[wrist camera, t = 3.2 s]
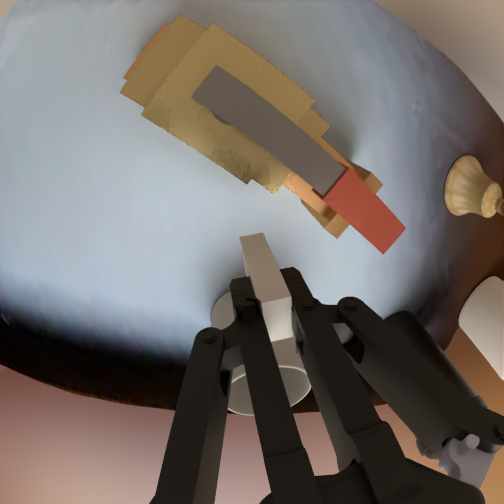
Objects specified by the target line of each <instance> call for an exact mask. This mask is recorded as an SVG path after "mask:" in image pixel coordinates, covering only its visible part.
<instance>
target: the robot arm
mask: <svg viewBox="0 0 504 504" xmlns="http://www.w3.org/2000/svg"><path fill="white" fill-rule="evenodd" d="M240 242H241V248H242V254H243V261H244V267H245V273H246V277H243V278H237V279H232V281H231V283H230V292H231V297H232V303H233V312H234V317H235V318H234V321H233V322H232V324H231V325H229V326H228V327H226V328H224V329H222V330H220V329H218V328H215V327H209V328H205V329H203V330H201V331H200V332H198V333H197V335H196V337H195V340H194V344H193V348H192V351H191V355H190V358H189V362H188V366H187V369H186V373H185V377H184V381H183V384H182V388H181V392H180V396H179V400H178V403H177V407H176V411H175V415H174V419H173V423H172V427H171V431H170V435H169V439H168V443H167V447H166V451H165V455H164V460H163V464H162V468H161V473H160V477H159V481H158V485H157V490H156V494H155V496H154V497H153V499H152V500H151V502H150V503H149V504H214V502H215V495H216V488H217V480H218V474H219V473H218V472H219V467H220V459H221V452H222V445H223V438H224V430H225V424H226V417H227V410H228V403H229V396H230V389H231V382H232V375H233V369H234V368H236V367H238V366H240V365H243V364H244V368H245V373H246V378H247V382H248V387H249V392H250V397H251V402H252V407H253V411H254V416H255V421H256V425H257V430H258V434H259V438H260V443H261V447H262V452H263V457H264V463H265V467H266V471H267V476H268V480H269V484H270V489H271V493H270V494H269V495H267V496H266V497H265V498H264V499H263V500H262V501H261V502H260V503H259V504H485V499H484V496H483V494H482V493H481V491H480V490H479V489H480V487H481V485H482V483H483V480H484V479H485V476H486V474H487V472H488V470H489V467H490V465H491V462H492V460H493V458H494V455H495V453H496V452H497V450H499V449H500V448H501V447H503V446H504V416H502V415H500V414H498V413H496V412H493V411H491V410H489V409H487V408H484V407H482V406H480V405H478V404H476V403H474V402H472V401H471V400H470V399H469V398H468V397H467V396H466V395H464V394H463V393H462V392H461V391H460V390H459V389H458V388H457V387H456V386H455V385H454V384H453V383H452V382H451V381H450V380H449V379H448V378H447V377H446V376H445V375H443V374H442V373H441V372H440V371H439V370H438V369H437V368H436V367H435V366H434V365H433V364H432V363H431V362H430V361H428V360H427V359H426V358H425V357H424V356H423V355H422V354H421V353H420V352H419V351H418V350H416V349H415V348H414V347H413V346H412V345H411V344H410V343H409V342H408V341H407V340H405V339H404V338H403V337H402V336H401V335H400V334H399V333H398V332H397V331H395V330H394V329H393V328H392V327H391V326H390V325H389V324H388V323H386V322H385V321H384V320H383V319H382V318H381V317H380V316H379V315H377V314H376V313H375V312H374V311H373V310H372V309H371V308H369V307H368V306H367V305H366V304H365V303H364V302H363V301H361V300H360V299H358V298H356V297H345V298H342V299H341V300H339V302H338V304H337V305H325V304H321V303H320V301H319V300H317V299H315V298H313V296H312V294H311V292H310V290H309V288H308V286H307V285H306V283H305V281H304V279H303V278H302V275H301V273H300V271H298V270H297V269H296V268H294V267H290V268H285V269H280V270H279V268H278V265H277V263H276V261H275V259H274V256H273V254H272V252H271V250H270V247H269V245H268V243H267V241H266V239H265V236H264V234H263V233H259V234H254V235H249V236H243V237H240ZM293 332H294V335H295V343H296V354H298V352H299V354H300V357H301V360H302V363H303V365H304V368H305V371H306V373H307V376H308V379H309V381H310V384H311V387H312V390H313V392H314V395H315V398H316V401H317V403H318V406H319V409H320V411H321V414H322V417H323V419H324V422H325V425H326V428H327V431H328V433H329V436H330V439H331V442H332V444H333V447H334V450H335V453H336V456H337V464H338V468H339V473H337V474H334V475H325V476H314V473H313V470H312V467H311V464H310V460H309V458H308V454H307V452H306V450H305V448H304V447H303V445H302V442H301V439H300V435H299V432H298V429H297V426H296V422H295V419H294V416H293V413H292V409H291V406H290V403H289V400H288V396H287V393H286V390H285V386H284V383H283V380H282V377H281V373H280V370H279V367H278V363H277V360H276V357H275V354H274V350H273V347H272V344H271V342H272V341H277V340H281V339H286V338H290V337H293ZM354 367H355V368H356V369H355V368H354ZM356 370H357V371H358V372H359V373H360V374H361V375H362V376H363V377H364V378H365V380H366V381H367V382H368V383H369V384H370V385H371V386H372V387H373V389H374V390H375V391H376V392H377V393H378V394H379V395H380V396H381V397H382V399H383V400H384V401H385V402H386V403H387V404H388V405H389V406H390V407H391V409H392V410H393V411H394V412H395V413H396V414H397V415H398V416H399V418H400V419H401V420H402V421H403V422H404V423H405V424H406V425H407V426H408V427H409V429H410V430H411V431H412V432H413V433H414V434H415V435H416V436H417V438H418V439H419V440H420V441H421V442H422V443H423V444H424V445H425V446H426V447H427V448H428V449H430V450H431V451H432V452H434V453H435V454H437V455H439V467H440V469H442V470H445V471H446V472H447V473H448V475H449V476H447V475H445V474H442V473H440V472H438V471H435V470H433V469H431V468H428V467H426V466H424V465H422V464H419V463H417V462H415V461H413V460H411V459H408V458H406V457H405V456H404V454H403V451H402V449H401V447H400V445H399V443H398V441H397V439H396V437H395V435H394V432H393V430H392V429H391V427H390V425H389V424H388V423H387V422H386V421H382V420H381V419H380V418H379V416H378V414H377V412H376V410H375V408H374V406H373V404H372V402H371V400H370V398H369V396H368V393H367V391H366V389H365V387H364V385H363V383H362V381H361V379H360V377H359V375H358V373H357V371H356Z"/></svg>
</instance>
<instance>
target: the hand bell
mask: <svg viewBox="0 0 504 504" xmlns="http://www.w3.org/2000/svg"><path fill="white" fill-rule="evenodd" d="M501 195H502V193H501V189H500V186H499V185H498V184H497V183H496V182H494V181H493V180H491V179H490V178H489V177H487V176H486V175H485V174H484V172H483V170H482V167H481V165H480V163H479V162H478V160H477V159H476V158H475V157H473V156H471V155H465V156H462V157H460V158H459V159H458V160H457V161H456V162H455V163H454V164H453V166H452V168H451V169H450V171H449V173H448V176H447V179H446V183H445V191H444V198H445V203H446V206H447V208H448V210H449V211H450V212H451V213H452V214H454V215H464V214H467V213H468V212H473V213H477V214H480V215H482V216H484V217H487V218H488V217H491V216H493V215H494V214H495V213H496V211H497V212H499V213H500V214H501V215H503V216H504V200H503V199H502V198H501Z"/></svg>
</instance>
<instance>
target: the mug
mask: <svg viewBox="0 0 504 504" xmlns="http://www.w3.org/2000/svg"><path fill="white" fill-rule="evenodd" d="M234 318H235V317H234V312H233V303H232V297H231V292H230V291H229V292H227V293H225V294H224V295H223V296H221V297H220V298H219V299H218V300H217V302H216V303H215V305H214V307H213V309H212V313H211V327H215V328H218V329H220V330H222V329H224V328H226V327H228V326H229V325H231V324H232V322H233V321H234ZM271 344H272V347H273V350H274V354H275V357H276V360H277V363H278V367H279V370H280V373H281V377H282V380H283V383H284V386H285V390H286V393H287V396H288V400H289V403H290V406H293V405H294V404H296V403H298V402H299V401H300V400H302V399H303V398H304V397H305V396H306V395H307V393H308V392H309V391H310V389H311V384H310V381H309V379H308V376H307V373H306V371H305V368H304V365H303V363H302V360H301V357H300V354H299V352H298V354H296V343H295V335H294V332H293V337H290V338H286V339H281V340H277V341H272V342H271ZM228 409H229V410H230V411H232V412H235V413H238V414H243V415H254V411H253V407H252V402H251V397H250V392H249V387H248V382H247V378H246V373H245V368H244V364H243V365H240V366H238V367H236V368H234V369H233V375H232V382H231V389H230V396H229V403H228Z"/></svg>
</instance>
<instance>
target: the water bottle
mask: <svg viewBox="0 0 504 504" xmlns="http://www.w3.org/2000/svg"><path fill="white" fill-rule="evenodd" d="M384 321H385V322H386V323H388V324H389V325H390V326H391V327H392V328H393V329H394V330H395V331H397V332H398V333H399V334H400V335H401V336H402V337H403V338H404V339H405V340H407V341H408V342H409V343H410V344H411V345H412V346H413V347H414V348H415V349H416V350H418V351H419V352H420V353H421V354H422V355H423V356H424V357H425V358H426V359H427V360H428V361H430V362H431V363H432V364H433V365H434V366H435V367H436V368H437V369H438V370H439V371H440V372H441V373H442V374H443V375H445V376H446V377H447V378H448V379H449V380H450V381H451V382H452V383H453V384H454V385H455V386H456V387H457V388H458V389H459V390H460V391H461V392H462V393H463V394H464V395H466V396H467V397H468V398H469V399H470V400H471V401H472V402H474V403H476V404H478V405H480V406H482V407H484V408H487V405H486V403H485V402H484V400H483V399H482V398H481V397H480V396H479V395H476V394H475V392H474V391H473V389H472V388H471V387H470V386H469V384H468V383H467V381H466V380H465V379H464V377H463V376H462V375H461V373H460V372H459V371H458V369H457V368H456V367H455V366H454V364H453V363H452V362H451V360H450V359H449V358H448V357H447V355H446V354H445V353H444V351H443V350H442V349H441V348H440V346H439V345H438V344H437V343H436V342H435V340H434V339H433V338H432V337H431V335H430V334H429V333H428V332H427V331H426V329H425V328H424V327H423V326H422V325H421V324H420V322H419V321H418V320H417V319H416V318H415V317H414V315H413V314H412V313H411V312H408V311H401V312H397V313H395V314H393V315H391V316H389V317H387V318H386V319H385V320H384ZM414 435H415V434H414ZM415 437H416V439H417V440H416V444H417V448H418V450H419V452H420V454H421V455H422V456H423V455H425V456H426V457H427V458H430V459H439V455H437V454H435V453H434V452H432V451H431V450H430V449H428V448H427V447H426V446H425V445H424V444H423V443H422V442H421V441H420V440H419V439H418V438H417V436H416V435H415Z"/></svg>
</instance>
